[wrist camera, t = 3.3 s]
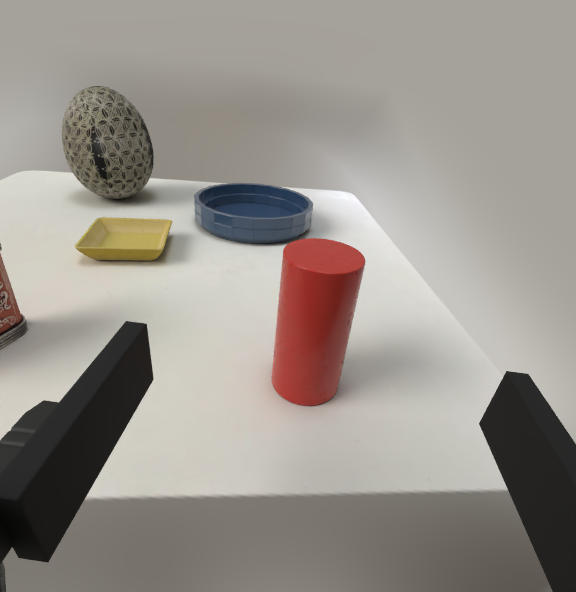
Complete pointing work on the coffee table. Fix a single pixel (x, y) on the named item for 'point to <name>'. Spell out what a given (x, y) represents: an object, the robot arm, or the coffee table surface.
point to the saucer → (125, 239)
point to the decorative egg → (107, 143)
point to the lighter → (9, 311)
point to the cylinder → (314, 318)
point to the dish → (253, 212)
